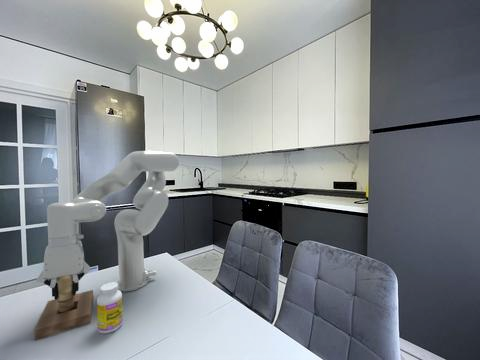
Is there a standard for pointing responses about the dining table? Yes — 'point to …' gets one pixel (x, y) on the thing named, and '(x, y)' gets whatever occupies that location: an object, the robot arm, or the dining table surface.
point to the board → (65, 316)
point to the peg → (65, 293)
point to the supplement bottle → (109, 308)
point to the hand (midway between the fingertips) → (65, 294)
